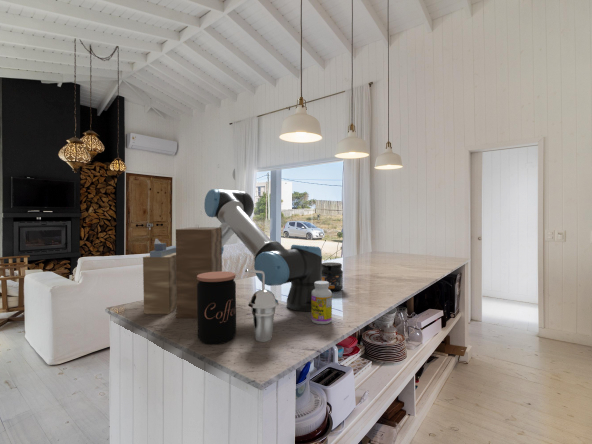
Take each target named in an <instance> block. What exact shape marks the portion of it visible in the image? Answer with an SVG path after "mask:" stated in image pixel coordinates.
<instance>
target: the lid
mask: <svg viewBox="0 0 592 444" xmlns="http://www.w3.org/2000/svg"><path fill="white" fill-rule="evenodd" d="M153 246H154V250H151V251H149V255H150V257H163V256H167V255H170V254H173V253H176V245H170V246H167V242H166V243H165V242H164V243H163V242H161V243H157V244H154V243H153Z"/></svg>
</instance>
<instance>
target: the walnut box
mask: <svg viewBox="0 0 592 444" xmlns="http://www.w3.org/2000/svg"><path fill="white" fill-rule="evenodd" d="M175 246H176V287H177V308H176V314H175V318H176V319H197V284H198V282H199V281H198V280H197V275H199V274H202V273H207V272H223V264H222V263H223V260H222V259H223V254H222V231H221V227H220V226H219V227H217V226H216V227H215V226H213V227H183V228H177V229H175Z"/></svg>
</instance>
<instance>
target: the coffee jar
mask: <svg viewBox="0 0 592 444" xmlns="http://www.w3.org/2000/svg"><path fill="white" fill-rule="evenodd" d="M236 276H237V275H236V273H234V272H232V271H222V272H207V273H202V274H199V275H197V280H198V281H199V282H198V284H197V318H196V319H197V320H196V321H197V322H196V323H197V324H196V325H197V339H199V341H200V342H201V343H203V344H205V345H220V344H226V343H228V342H230V341H232V340H234V337H235V335H237V292H236V291H237V290H236V289H237V288H236V287H237V286H236V284H237V283H236V281H235V278H236Z"/></svg>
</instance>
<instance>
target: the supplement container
mask: <svg viewBox="0 0 592 444" xmlns="http://www.w3.org/2000/svg"><path fill="white" fill-rule="evenodd" d="M342 269H343V264H342V263H341V262H334V261H333V262H331V261H330V262H327V261H326V262H322V281H327V282H329V287H328V289H329V290H330V291H331V292H332V293H337V292H338V293H339V292H341V291H342V290H343V288H344V286H343V285H344V284H343V282H344V281H343V279H344V278H343V274H344V271H343V270H342Z"/></svg>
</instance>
